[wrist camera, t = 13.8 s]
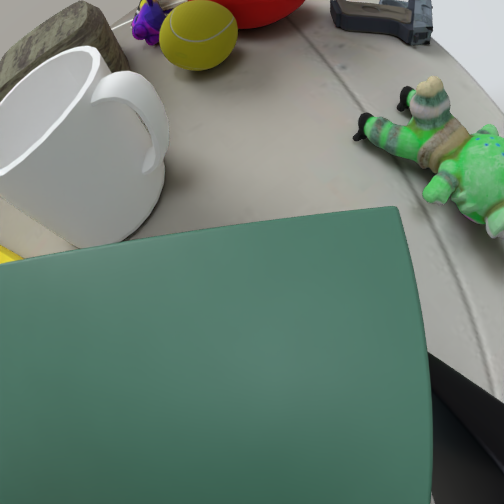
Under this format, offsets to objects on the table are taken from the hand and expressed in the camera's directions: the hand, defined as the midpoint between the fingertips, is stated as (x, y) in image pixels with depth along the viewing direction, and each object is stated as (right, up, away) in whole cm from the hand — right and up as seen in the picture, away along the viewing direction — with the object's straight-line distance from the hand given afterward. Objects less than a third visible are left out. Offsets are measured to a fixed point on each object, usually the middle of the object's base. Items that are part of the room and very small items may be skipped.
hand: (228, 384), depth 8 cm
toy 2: (+10, +15, +12) cm, 21 cm away
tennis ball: (-5, +19, +14) cm, 25 cm away
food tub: (+1, -4, +7) cm, 8 cm away
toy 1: (-8, +38, +19) cm, 43 cm away
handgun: (+10, +34, +20) cm, 41 cm away
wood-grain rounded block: (-16, +14, +13) cm, 25 cm away
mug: (-9, +8, +14) cm, 19 cm away
